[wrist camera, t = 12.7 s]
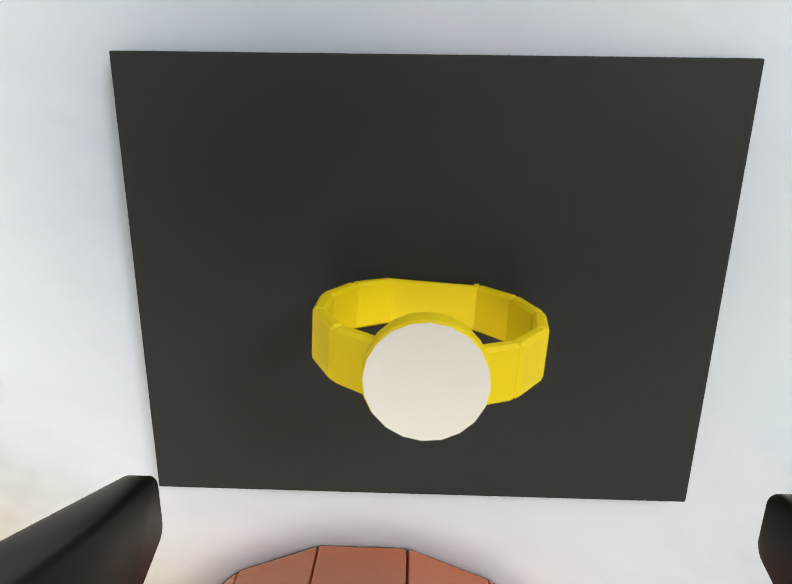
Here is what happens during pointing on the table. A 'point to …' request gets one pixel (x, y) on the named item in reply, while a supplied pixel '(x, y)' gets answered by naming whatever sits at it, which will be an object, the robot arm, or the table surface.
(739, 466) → the table surface
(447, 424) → the watch
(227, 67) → the mat
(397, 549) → the orange faceted ring
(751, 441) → the table surface
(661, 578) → the table surface
